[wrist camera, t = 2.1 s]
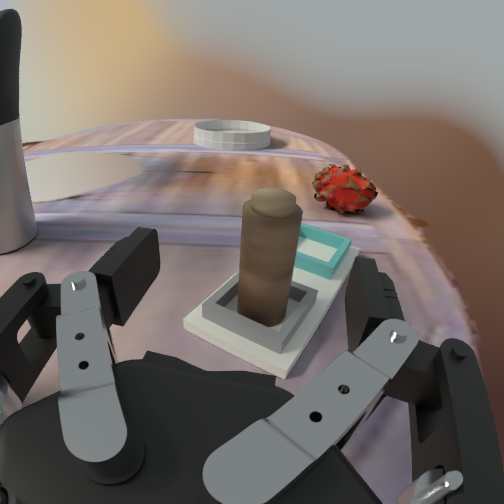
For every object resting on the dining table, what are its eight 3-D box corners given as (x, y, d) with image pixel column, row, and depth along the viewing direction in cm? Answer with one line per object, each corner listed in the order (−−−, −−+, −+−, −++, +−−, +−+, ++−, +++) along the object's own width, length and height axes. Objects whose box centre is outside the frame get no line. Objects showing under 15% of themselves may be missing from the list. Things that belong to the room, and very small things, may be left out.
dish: (218, 132, 103) (218, 117, 100) (280, 141, 96) (282, 126, 93) (178, 145, 85) (178, 127, 83) (250, 156, 78) (251, 136, 76)
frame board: (284, 379, 24) (289, 358, 23) (183, 328, 28) (181, 306, 27) (357, 256, 41) (362, 238, 39) (288, 233, 45) (291, 215, 43)
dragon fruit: (301, 212, 55) (363, 226, 56) (317, 202, 46) (387, 219, 48) (307, 166, 55) (368, 182, 57) (323, 149, 47) (390, 169, 48)
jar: (229, 301, 30) (234, 188, 24) (271, 290, 32) (284, 183, 26) (249, 333, 27) (260, 212, 21) (294, 319, 28) (316, 204, 23)
